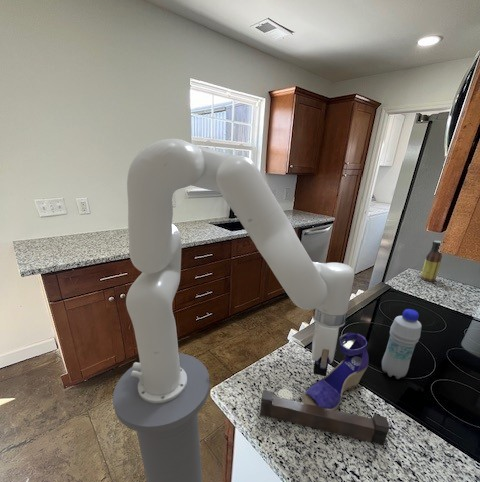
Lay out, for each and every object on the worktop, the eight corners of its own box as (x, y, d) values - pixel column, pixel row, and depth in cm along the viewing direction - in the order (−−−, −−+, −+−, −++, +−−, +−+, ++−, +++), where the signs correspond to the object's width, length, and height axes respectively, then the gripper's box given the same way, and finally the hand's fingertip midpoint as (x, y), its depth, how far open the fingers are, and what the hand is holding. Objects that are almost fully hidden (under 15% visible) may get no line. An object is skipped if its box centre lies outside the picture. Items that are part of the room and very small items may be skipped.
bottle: (409, 372, 74) (430, 310, 66) (401, 385, 69) (423, 321, 62) (384, 360, 78) (401, 301, 70) (375, 371, 74) (392, 309, 66)
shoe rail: (260, 414, 61) (261, 398, 59) (262, 406, 63) (263, 389, 61) (383, 445, 55) (389, 428, 53) (381, 434, 57) (386, 417, 55)
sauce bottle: (429, 277, 136) (441, 239, 128) (438, 282, 130) (451, 243, 122) (416, 277, 136) (428, 239, 128) (424, 282, 130) (437, 243, 122)
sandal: (291, 395, 66) (297, 347, 60) (350, 372, 74) (361, 327, 68) (312, 423, 59) (321, 371, 53) (375, 394, 67) (389, 346, 61)
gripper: (314, 297, 71) (306, 352, 78) (312, 328, 58) (303, 391, 65) (343, 301, 69) (333, 357, 76) (349, 334, 56) (335, 398, 63)
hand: (319, 372), depth 70 cm, fingers closed
